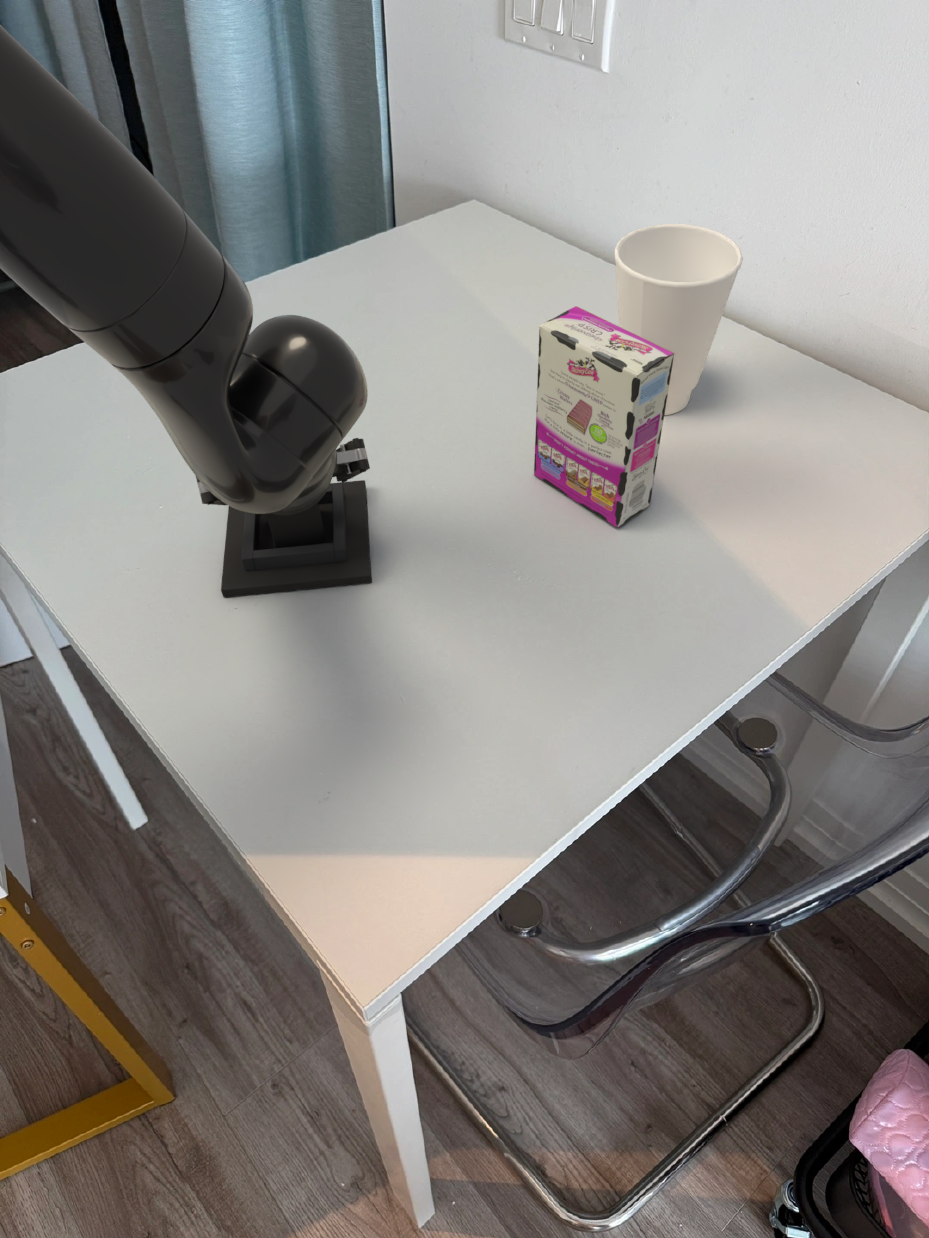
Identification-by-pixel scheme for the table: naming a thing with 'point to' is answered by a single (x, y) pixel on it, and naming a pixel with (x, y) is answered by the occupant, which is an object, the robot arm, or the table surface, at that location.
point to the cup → (676, 294)
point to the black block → (297, 528)
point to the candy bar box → (599, 413)
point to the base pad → (300, 549)
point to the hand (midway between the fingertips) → (285, 484)
